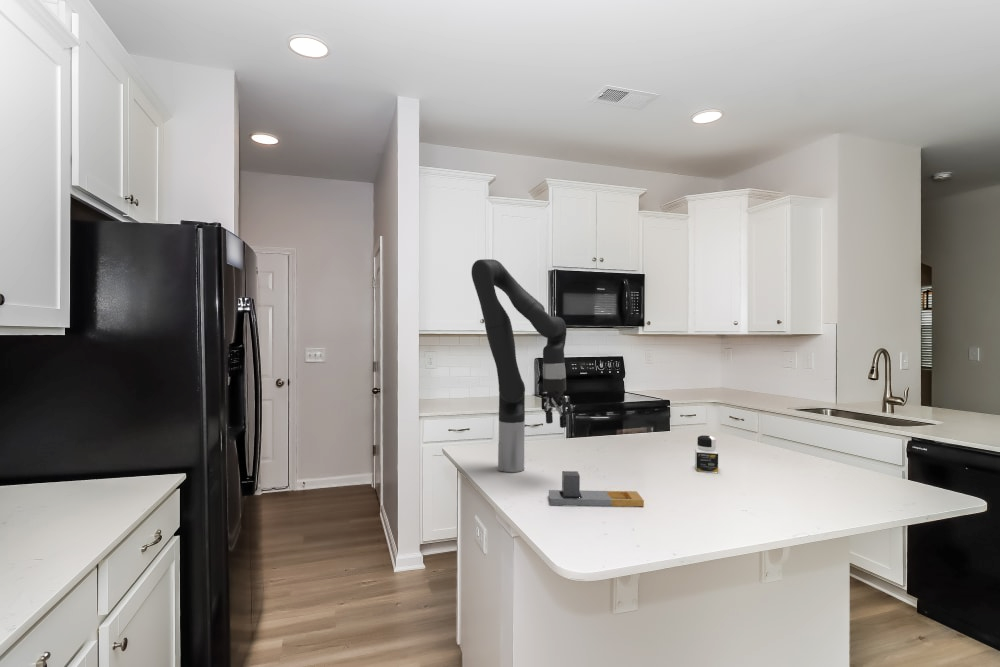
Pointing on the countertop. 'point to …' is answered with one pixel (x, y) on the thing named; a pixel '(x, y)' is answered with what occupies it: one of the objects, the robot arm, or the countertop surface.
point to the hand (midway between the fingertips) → (556, 425)
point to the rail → (598, 498)
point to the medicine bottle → (706, 454)
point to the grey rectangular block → (570, 484)
